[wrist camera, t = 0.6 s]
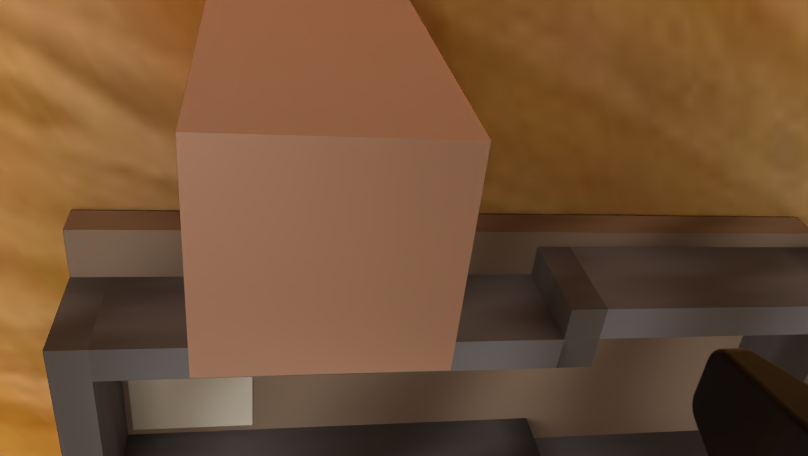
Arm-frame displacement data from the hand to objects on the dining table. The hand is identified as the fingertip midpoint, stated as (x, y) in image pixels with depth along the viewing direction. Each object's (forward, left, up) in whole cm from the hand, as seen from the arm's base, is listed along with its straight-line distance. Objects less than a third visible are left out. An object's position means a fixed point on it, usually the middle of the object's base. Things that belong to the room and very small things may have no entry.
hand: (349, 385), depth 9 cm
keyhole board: (-5, +10, -12) cm, 17 cm away
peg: (0, 0, -12) cm, 12 cm away
